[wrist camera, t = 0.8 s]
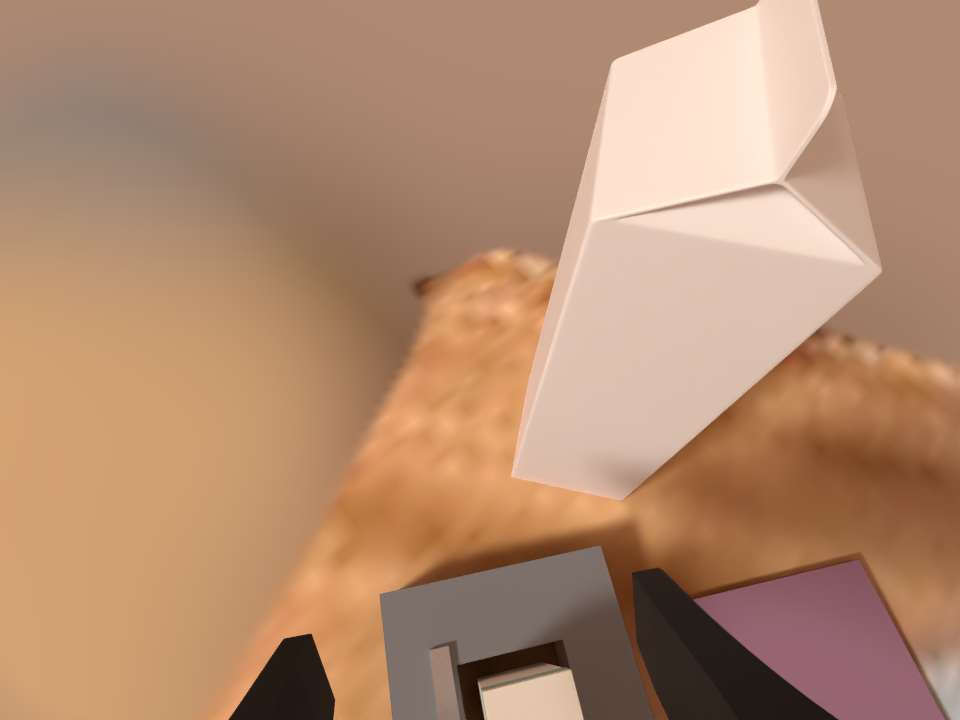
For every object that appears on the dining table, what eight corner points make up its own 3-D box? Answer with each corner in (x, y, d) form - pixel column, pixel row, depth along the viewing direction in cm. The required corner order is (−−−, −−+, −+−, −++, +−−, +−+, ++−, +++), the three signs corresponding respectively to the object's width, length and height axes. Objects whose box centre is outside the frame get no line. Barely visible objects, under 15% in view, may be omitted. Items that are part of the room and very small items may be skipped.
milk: (628, 401, 29) (955, -56, 10) (621, 504, 26) (1063, 133, 7) (525, 380, 30) (653, -99, 11) (507, 479, 27) (639, 65, 8)
